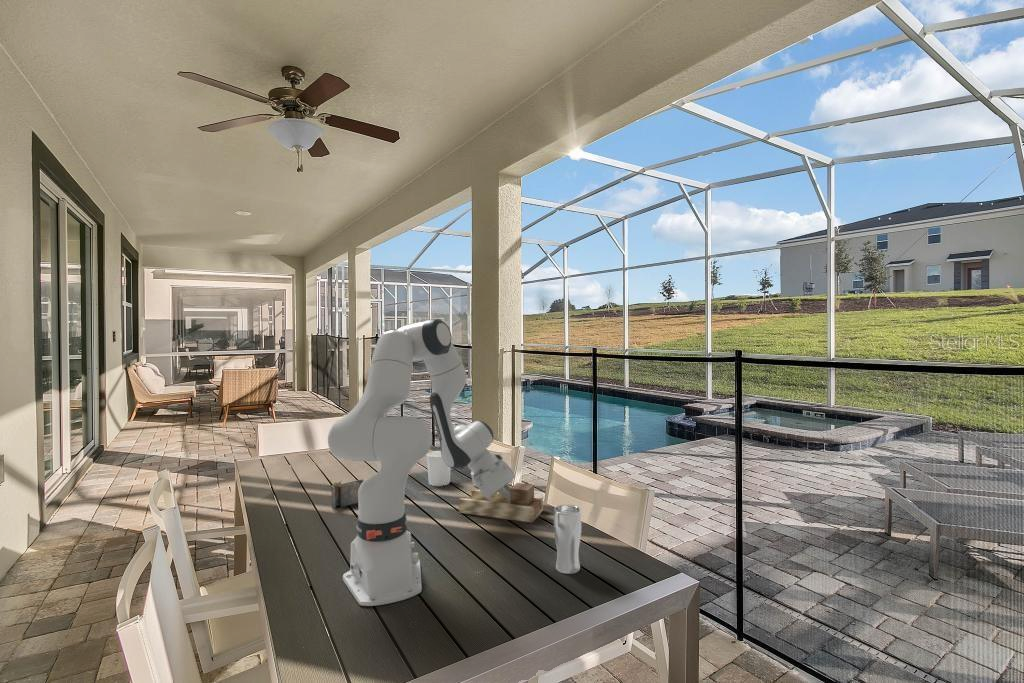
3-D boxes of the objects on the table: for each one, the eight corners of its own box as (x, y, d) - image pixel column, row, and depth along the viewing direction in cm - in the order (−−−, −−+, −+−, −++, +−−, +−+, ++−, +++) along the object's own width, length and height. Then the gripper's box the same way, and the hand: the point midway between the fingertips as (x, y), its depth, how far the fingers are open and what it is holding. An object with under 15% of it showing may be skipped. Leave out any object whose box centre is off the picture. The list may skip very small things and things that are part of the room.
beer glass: (574, 577, 115) (574, 516, 115) (549, 570, 119) (548, 510, 119) (586, 565, 121) (585, 507, 121) (561, 559, 125) (560, 502, 125)
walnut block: (510, 512, 155) (510, 488, 155) (517, 506, 161) (517, 482, 161) (527, 515, 153) (527, 490, 153) (534, 508, 159) (533, 484, 159)
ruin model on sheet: (335, 510, 164) (334, 482, 164) (331, 508, 166) (331, 480, 166) (366, 502, 172) (365, 475, 172) (362, 500, 174) (362, 473, 174)
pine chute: (458, 512, 159) (458, 499, 159) (473, 501, 170) (473, 489, 169) (532, 522, 150) (532, 508, 150) (543, 510, 160) (542, 497, 160)
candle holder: (456, 481, 193) (456, 452, 193) (440, 488, 185) (440, 457, 185) (438, 478, 198) (437, 449, 198) (421, 484, 190) (421, 454, 190)
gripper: (477, 468, 151) (506, 502, 148) (502, 453, 170) (528, 483, 167) (465, 481, 153) (493, 515, 149) (491, 464, 172) (516, 494, 168)
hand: (512, 498), depth 158 cm, fingers closed, pressing on walnut block
